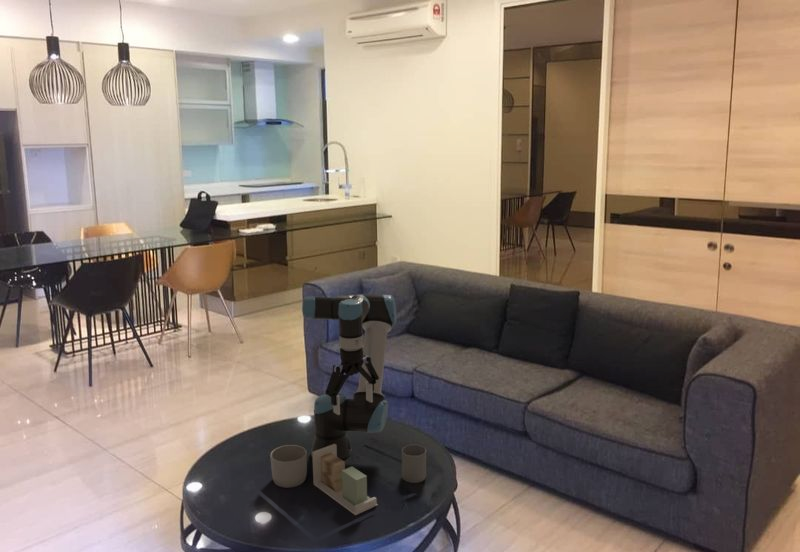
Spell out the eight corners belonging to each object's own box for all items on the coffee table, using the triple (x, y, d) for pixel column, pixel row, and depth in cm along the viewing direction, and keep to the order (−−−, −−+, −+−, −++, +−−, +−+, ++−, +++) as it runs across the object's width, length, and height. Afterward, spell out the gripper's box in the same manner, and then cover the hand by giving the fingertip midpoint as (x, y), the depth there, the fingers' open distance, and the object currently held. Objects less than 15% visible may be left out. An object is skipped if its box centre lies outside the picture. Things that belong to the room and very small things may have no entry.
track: (313, 486, 223) (312, 451, 220) (335, 477, 229) (334, 443, 226) (355, 518, 205) (354, 480, 202) (378, 507, 211) (377, 470, 208)
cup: (423, 483, 224) (423, 457, 222) (400, 481, 226) (399, 455, 224) (427, 471, 233) (427, 445, 230) (404, 469, 234) (404, 443, 232)
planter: (291, 495, 218) (290, 465, 215) (264, 485, 224) (262, 456, 222) (315, 479, 228) (314, 450, 226) (288, 469, 234) (287, 441, 232)
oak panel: (322, 483, 223) (321, 456, 221) (331, 479, 226) (331, 452, 223) (335, 493, 217) (334, 465, 215) (345, 489, 220) (344, 461, 217)
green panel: (342, 498, 214) (341, 470, 212) (352, 493, 217) (351, 466, 214) (357, 508, 208) (356, 480, 206) (367, 504, 211) (366, 476, 208)
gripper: (326, 360, 202) (329, 422, 207) (388, 340, 217) (389, 399, 223) (312, 353, 207) (315, 414, 213) (374, 335, 223) (375, 392, 228)
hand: (353, 407), depth 218 cm, fingers open, 13 cm apart
